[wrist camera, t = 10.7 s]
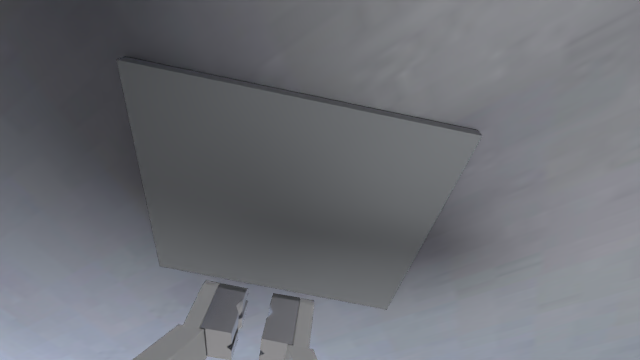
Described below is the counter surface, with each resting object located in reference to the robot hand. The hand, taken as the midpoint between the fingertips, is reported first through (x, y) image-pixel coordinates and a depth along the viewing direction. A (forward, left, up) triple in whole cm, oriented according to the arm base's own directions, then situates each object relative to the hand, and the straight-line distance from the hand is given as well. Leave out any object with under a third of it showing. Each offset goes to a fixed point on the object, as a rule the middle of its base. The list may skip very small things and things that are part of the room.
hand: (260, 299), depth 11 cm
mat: (0, 0, -5) cm, 5 cm away
